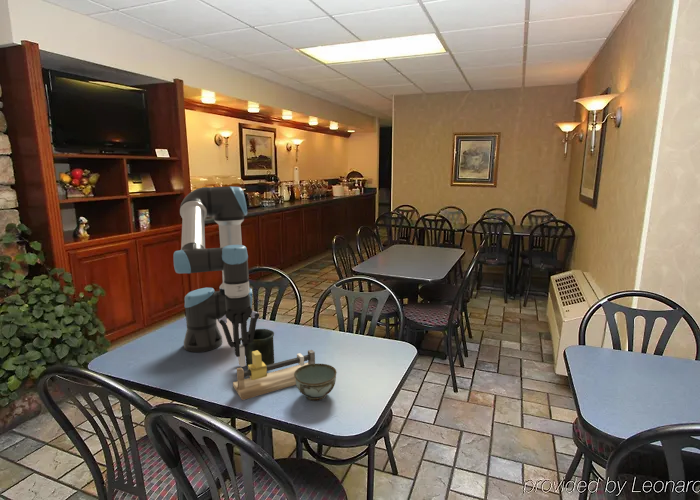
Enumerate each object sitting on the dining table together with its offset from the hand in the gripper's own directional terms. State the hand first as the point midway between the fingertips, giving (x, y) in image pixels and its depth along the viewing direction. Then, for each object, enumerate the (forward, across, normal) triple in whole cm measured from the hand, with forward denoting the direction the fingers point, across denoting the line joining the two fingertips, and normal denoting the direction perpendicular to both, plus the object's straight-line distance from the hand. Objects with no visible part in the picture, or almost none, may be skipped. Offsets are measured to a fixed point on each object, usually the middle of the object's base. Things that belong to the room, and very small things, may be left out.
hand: (242, 364), depth 136 cm
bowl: (+10, +19, -15) cm, 26 cm away
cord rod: (+4, +12, 0) cm, 13 cm away
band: (+5, +21, 0) cm, 21 cm away
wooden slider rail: (+9, +12, 0) cm, 15 cm away
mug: (+10, +10, +17) cm, 22 cm away
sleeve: (+5, +5, 0) cm, 7 cm away
